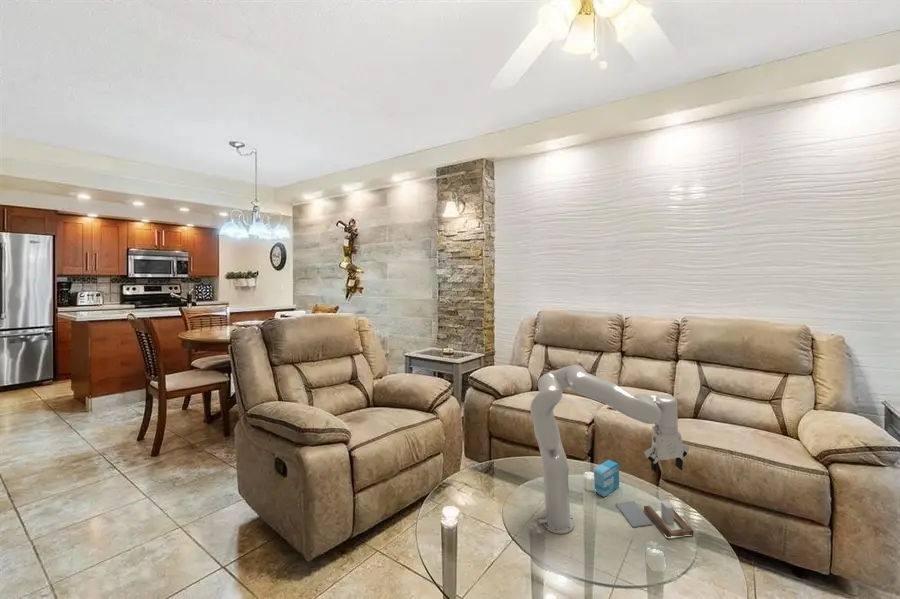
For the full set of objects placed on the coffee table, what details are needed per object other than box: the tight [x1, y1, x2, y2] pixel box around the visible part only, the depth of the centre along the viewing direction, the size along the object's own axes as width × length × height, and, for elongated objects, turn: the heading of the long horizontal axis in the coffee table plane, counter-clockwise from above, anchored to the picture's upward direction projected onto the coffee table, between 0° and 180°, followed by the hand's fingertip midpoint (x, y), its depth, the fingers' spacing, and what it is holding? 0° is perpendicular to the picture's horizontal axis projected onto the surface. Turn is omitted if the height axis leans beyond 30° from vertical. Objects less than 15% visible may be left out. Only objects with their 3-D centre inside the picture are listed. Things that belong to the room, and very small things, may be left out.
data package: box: [593, 459, 620, 498], centre depth 181 cm, size 12×4×12 cm, turn 124°
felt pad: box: [615, 500, 654, 529], centre depth 165 cm, size 8×14×1 cm, turn 4°
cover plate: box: [655, 500, 683, 531], centre depth 159 cm, size 6×12×8 cm, turn 4°
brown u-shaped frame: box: [643, 505, 694, 537], centre depth 159 cm, size 10×16×2 cm, turn 4°
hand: (667, 469), depth 156 cm, fingers open, 9 cm apart
